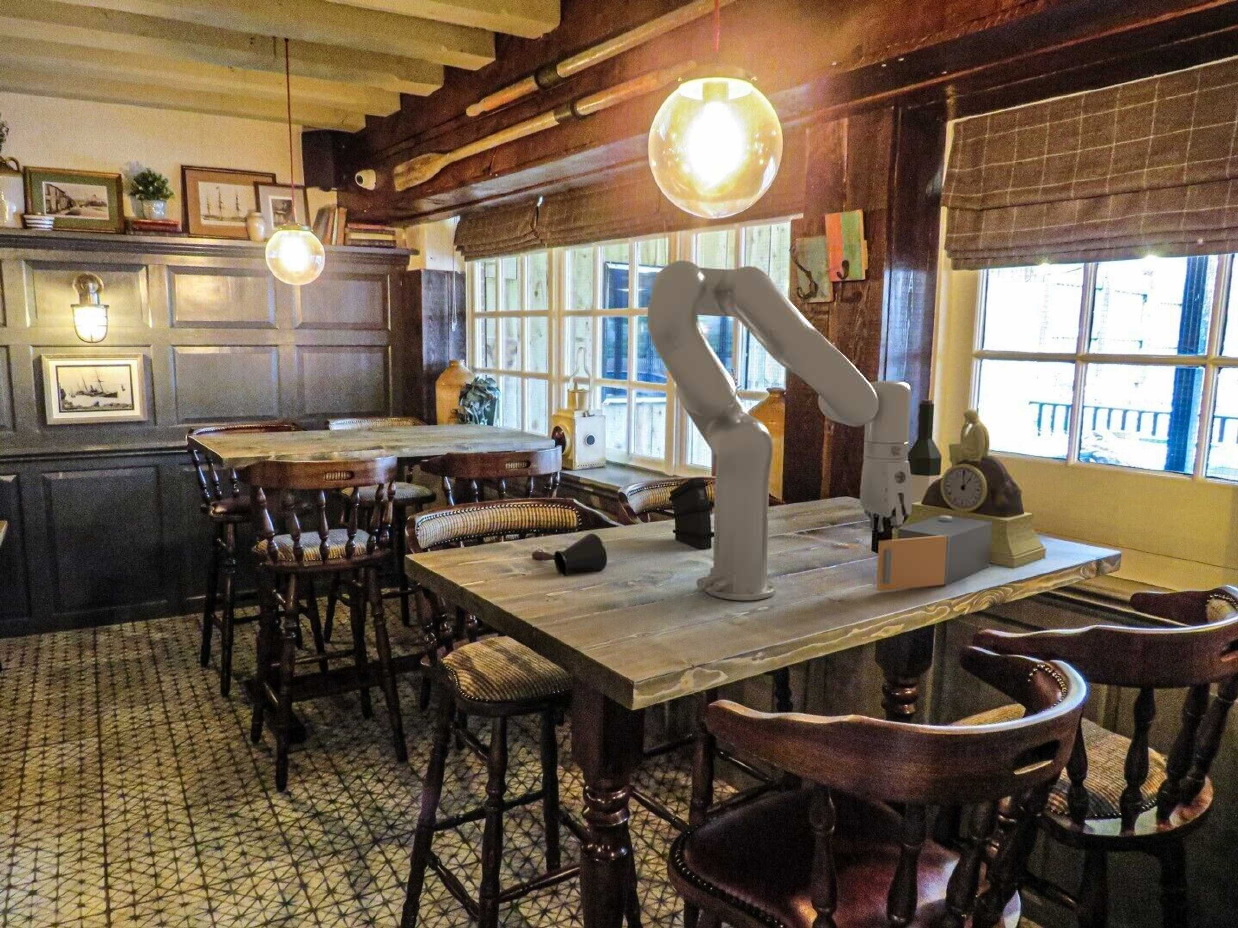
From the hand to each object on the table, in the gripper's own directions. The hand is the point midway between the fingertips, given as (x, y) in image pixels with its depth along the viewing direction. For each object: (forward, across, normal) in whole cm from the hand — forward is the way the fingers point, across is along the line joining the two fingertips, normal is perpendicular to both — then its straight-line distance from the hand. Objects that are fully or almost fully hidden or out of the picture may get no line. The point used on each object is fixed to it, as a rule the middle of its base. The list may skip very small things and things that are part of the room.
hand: (881, 551), depth 155 cm
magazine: (+7, +41, +22) cm, 47 cm away
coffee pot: (+7, +30, +52) cm, 60 cm away
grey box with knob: (+7, +8, -19) cm, 22 cm away
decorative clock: (+7, +21, -33) cm, 40 cm away
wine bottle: (+7, +44, -38) cm, 59 cm away
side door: (+6, -2, -5) cm, 9 cm away
